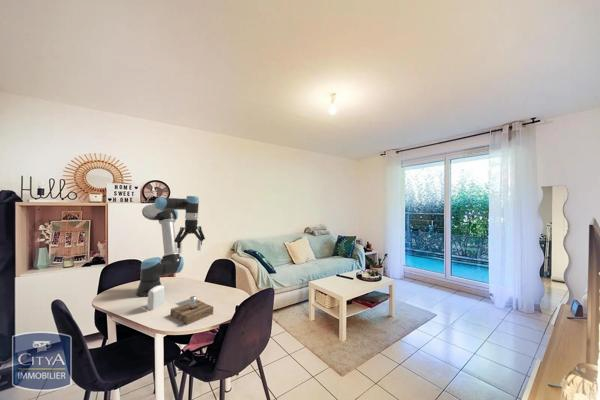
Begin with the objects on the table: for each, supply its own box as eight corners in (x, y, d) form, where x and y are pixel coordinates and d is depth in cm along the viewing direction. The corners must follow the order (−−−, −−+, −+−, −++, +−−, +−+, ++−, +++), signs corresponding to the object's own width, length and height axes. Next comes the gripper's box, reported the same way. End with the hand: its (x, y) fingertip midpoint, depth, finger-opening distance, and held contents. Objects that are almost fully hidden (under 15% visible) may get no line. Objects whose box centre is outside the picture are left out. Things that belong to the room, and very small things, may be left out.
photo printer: (152, 311, 136) (153, 289, 136) (145, 310, 137) (147, 289, 137) (164, 304, 146) (166, 284, 147) (158, 303, 147) (159, 283, 147)
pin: (188, 315, 133) (189, 297, 133) (192, 313, 135) (194, 295, 136) (191, 316, 131) (192, 298, 132) (196, 314, 134) (197, 297, 134)
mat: (175, 304, 146) (175, 303, 146) (192, 298, 156) (192, 297, 156) (186, 309, 140) (186, 308, 140) (203, 303, 150) (203, 302, 150)
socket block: (170, 316, 131) (170, 308, 131) (196, 306, 144) (196, 300, 144) (187, 324, 122) (187, 317, 122) (213, 313, 136) (213, 306, 136)
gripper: (176, 220, 142) (174, 255, 141) (211, 219, 163) (209, 250, 162) (169, 219, 146) (167, 253, 145) (204, 218, 167) (203, 248, 166)
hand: (189, 251), depth 154 cm, fingers open, 13 cm apart
